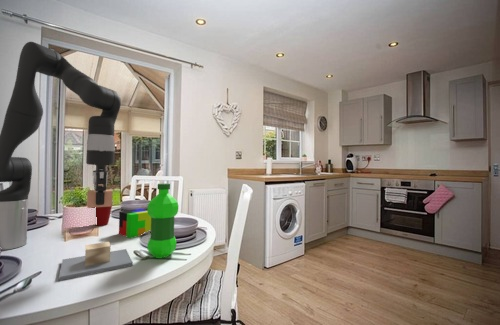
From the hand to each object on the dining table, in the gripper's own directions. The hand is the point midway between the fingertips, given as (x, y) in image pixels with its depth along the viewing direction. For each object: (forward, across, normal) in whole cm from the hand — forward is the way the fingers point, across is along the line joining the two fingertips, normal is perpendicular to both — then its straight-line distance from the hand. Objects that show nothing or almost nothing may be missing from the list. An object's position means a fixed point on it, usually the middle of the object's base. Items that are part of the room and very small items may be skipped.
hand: (99, 203), depth 75 cm
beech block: (+18, 0, 0) cm, 18 cm away
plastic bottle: (+19, +3, +19) cm, 27 cm away
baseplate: (+19, 0, 0) cm, 19 cm away
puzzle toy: (+19, -30, +16) cm, 39 cm away
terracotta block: (+1, 0, 0) cm, 1 cm away
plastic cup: (+19, -55, +4) cm, 58 cm away
